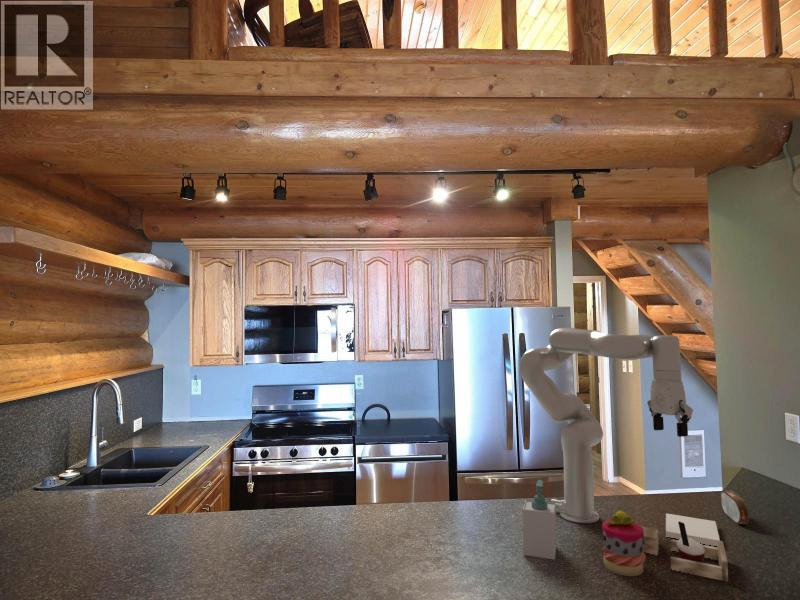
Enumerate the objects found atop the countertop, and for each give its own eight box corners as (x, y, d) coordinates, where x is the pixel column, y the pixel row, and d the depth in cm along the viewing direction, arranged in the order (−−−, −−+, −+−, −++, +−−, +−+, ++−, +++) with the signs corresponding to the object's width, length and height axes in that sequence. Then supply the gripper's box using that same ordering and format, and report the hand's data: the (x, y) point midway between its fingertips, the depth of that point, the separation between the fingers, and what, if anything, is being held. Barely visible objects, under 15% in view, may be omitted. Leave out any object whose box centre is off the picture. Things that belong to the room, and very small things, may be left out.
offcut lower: (638, 553, 145) (638, 544, 145) (640, 542, 152) (639, 533, 152) (657, 557, 143) (657, 548, 143) (658, 545, 150) (658, 537, 150)
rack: (671, 569, 134) (670, 550, 135) (670, 549, 146) (670, 532, 146) (728, 581, 128) (727, 561, 129) (723, 559, 140) (722, 541, 140)
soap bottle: (556, 546, 148) (555, 480, 149) (554, 560, 140) (554, 490, 141) (525, 542, 151) (525, 477, 152) (523, 555, 143) (522, 487, 143)
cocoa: (696, 558, 142) (695, 514, 143) (714, 568, 136) (713, 522, 137) (666, 560, 140) (666, 515, 141) (683, 570, 134) (682, 523, 135)
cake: (596, 557, 142) (595, 503, 142) (634, 557, 141) (633, 503, 142) (610, 576, 131) (610, 517, 132) (652, 577, 131) (651, 518, 131)
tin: (750, 529, 161) (749, 502, 161) (739, 528, 162) (738, 501, 162) (729, 511, 176) (728, 486, 176) (719, 510, 176) (718, 486, 177)
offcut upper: (638, 543, 146) (638, 535, 146) (641, 534, 152) (641, 526, 152) (656, 547, 143) (655, 538, 143) (658, 538, 149) (658, 529, 149)
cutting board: (665, 537, 154) (665, 531, 154) (666, 519, 168) (666, 513, 168) (720, 547, 148) (719, 540, 148) (715, 527, 162) (715, 521, 162)
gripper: (637, 374, 161) (639, 428, 160) (678, 379, 144) (681, 439, 143) (657, 373, 163) (660, 427, 162) (700, 377, 146) (703, 438, 145)
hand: (670, 433), depth 152 cm, fingers open, 9 cm apart
